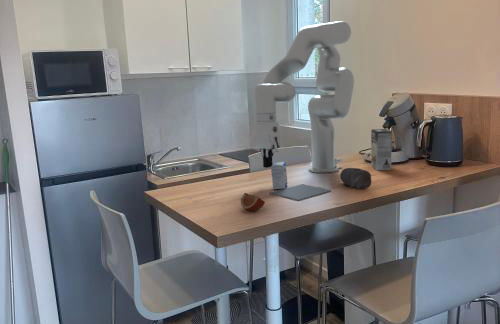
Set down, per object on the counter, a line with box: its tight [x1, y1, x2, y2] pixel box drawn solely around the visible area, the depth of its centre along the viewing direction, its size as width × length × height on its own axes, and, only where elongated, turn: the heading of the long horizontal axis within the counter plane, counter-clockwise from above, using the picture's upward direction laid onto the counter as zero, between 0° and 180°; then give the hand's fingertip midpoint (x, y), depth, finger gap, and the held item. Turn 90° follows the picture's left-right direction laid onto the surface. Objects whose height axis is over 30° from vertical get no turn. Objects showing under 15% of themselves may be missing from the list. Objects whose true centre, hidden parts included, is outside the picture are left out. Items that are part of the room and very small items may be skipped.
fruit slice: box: [240, 192, 266, 212], centre depth 132 cm, size 8×7×5 cm
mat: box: [269, 183, 332, 202], centre depth 150 cm, size 16×14×1 cm
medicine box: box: [270, 161, 288, 190], centre depth 157 cm, size 8×4×9 cm, turn 168°
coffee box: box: [370, 128, 393, 171], centre depth 180 cm, size 9×6×16 cm
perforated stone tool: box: [339, 167, 372, 190], centre depth 153 cm, size 15×5×7 cm, turn 22°
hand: (267, 166), depth 162 cm, fingers closed
